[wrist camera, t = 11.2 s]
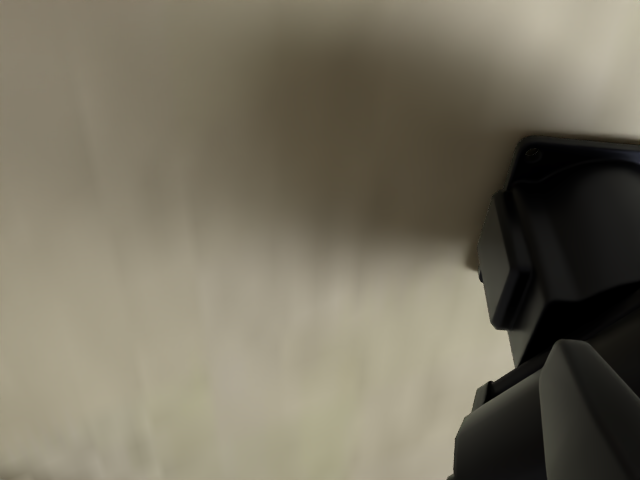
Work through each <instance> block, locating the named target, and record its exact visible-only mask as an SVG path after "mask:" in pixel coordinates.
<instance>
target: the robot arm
mask: <svg viewBox="0 0 640 480" xmlns="http://www.w3.org/2000/svg"><path fill="white" fill-rule="evenodd" d="M534 148H536V149H539V150H538V151H537V153H535V154H533V155H526V152H527V151H528V150H530V149H534ZM477 251H478V256H479V262H480V264H479V267H478V274H479V279H480V281H481V282H482V283H483V284H484V289H485V295H486V301H487V306H488V312H489V317H490V322H491V324H492V325H493V326H494V327H495V329H497V330H507V331H508V336H509V341H510V346H511V351H512V356H513V361H514V365H515V369H514V370H512V371H511V372H509V373H507V374H506V375H504V376H503V377H501V378H500V379H498V380H497V381H495V382H493V381H489V382H487V383H486V384H484V385H483V386H481V387H480V388H478V389H477V391H476V395H475V399H474V403H473V408H472V412H471V413H470V414H469V415H467V416H466V417H465V418H464V420H463V422H462V424H461V427H460V429H459V431H458V433H457V435H456V438H455V449H454V467H453V470H454V474H452V475H451V476H449V477H448V478H447V480H640V145H631V144H620V143H609V142H598V141H588V140H577V139H566V138H555V137H545V136H528V137H525V138H523V139H522V140H521V141H520V142H518V144H517V146H516V148H515V151H514V154H513V158H512V161H511V164H510V167H509V170H508V174H507V177H506V180H505V183H504V187H503V190H499V191H497V192H496V193H495V194H494V195H492V198H491V201H490V205H489V208H488V211H487V215H486V218H485V221H484V225H483V228H482V231H481V235H480V238H479V241H478V245H477Z"/></svg>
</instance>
